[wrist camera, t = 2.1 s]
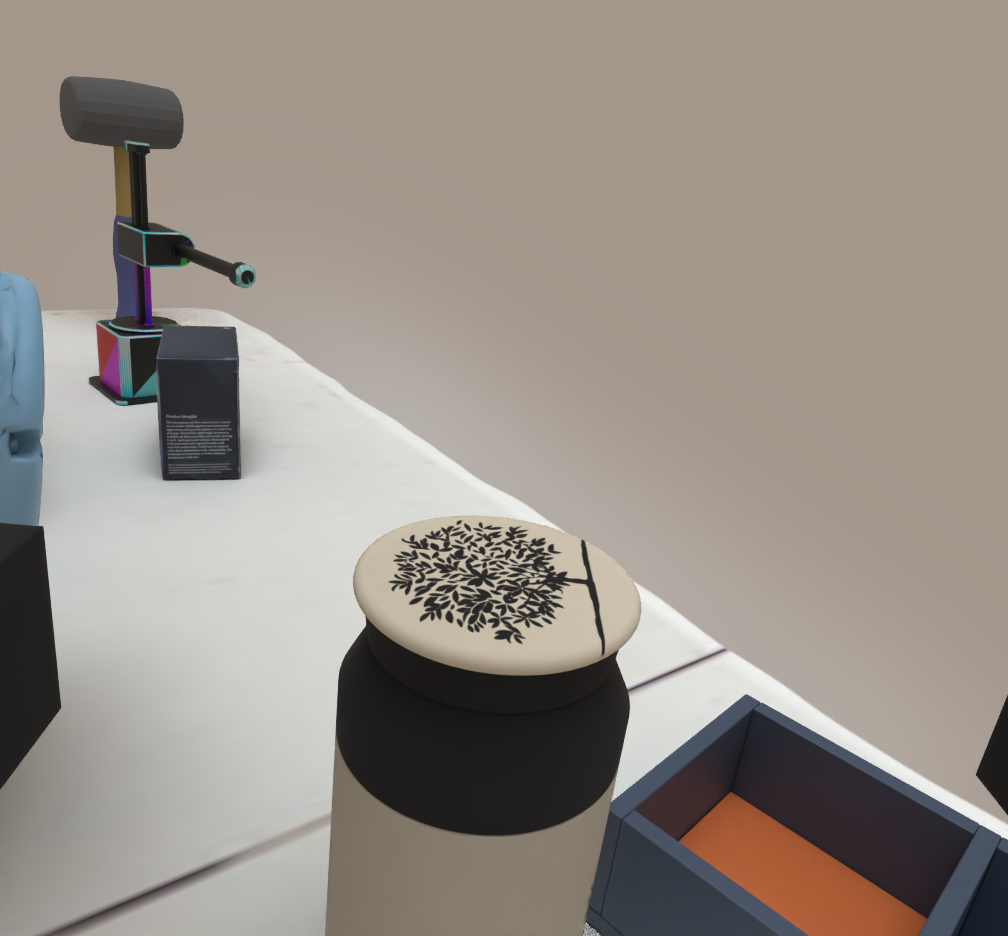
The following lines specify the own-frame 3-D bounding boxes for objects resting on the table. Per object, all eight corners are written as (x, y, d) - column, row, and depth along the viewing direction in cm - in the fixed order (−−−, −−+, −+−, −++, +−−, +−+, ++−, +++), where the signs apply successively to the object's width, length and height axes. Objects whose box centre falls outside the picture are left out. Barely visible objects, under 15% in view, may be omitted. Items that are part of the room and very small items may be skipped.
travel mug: (281, 1139, 25) (295, 629, 18) (361, 913, 32) (392, 492, 25) (543, 1203, 24) (656, 696, 17) (563, 956, 31) (648, 535, 25)
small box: (164, 435, 75) (160, 322, 71) (238, 435, 77) (238, 325, 74) (157, 481, 66) (152, 354, 62) (242, 479, 68) (242, 356, 64)
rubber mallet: (93, 342, 101) (74, 73, 90) (72, 327, 105) (53, 71, 94) (192, 335, 109) (187, 88, 98) (169, 322, 114) (161, 85, 103)
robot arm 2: (76, 373, 89) (58, 131, 80) (161, 365, 95) (152, 139, 86) (173, 448, 73) (163, 155, 64) (267, 433, 79) (270, 163, 70)
